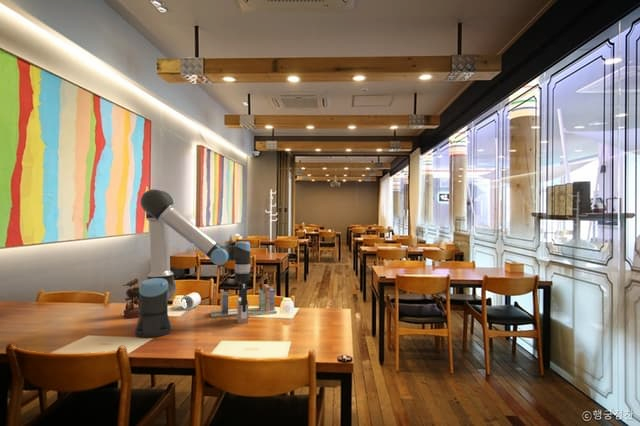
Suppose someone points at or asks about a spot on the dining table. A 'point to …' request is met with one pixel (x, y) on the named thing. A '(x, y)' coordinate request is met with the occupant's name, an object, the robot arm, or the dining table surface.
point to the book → (240, 312)
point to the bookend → (224, 302)
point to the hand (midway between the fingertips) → (242, 314)
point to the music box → (132, 293)
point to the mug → (192, 300)
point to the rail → (264, 308)
